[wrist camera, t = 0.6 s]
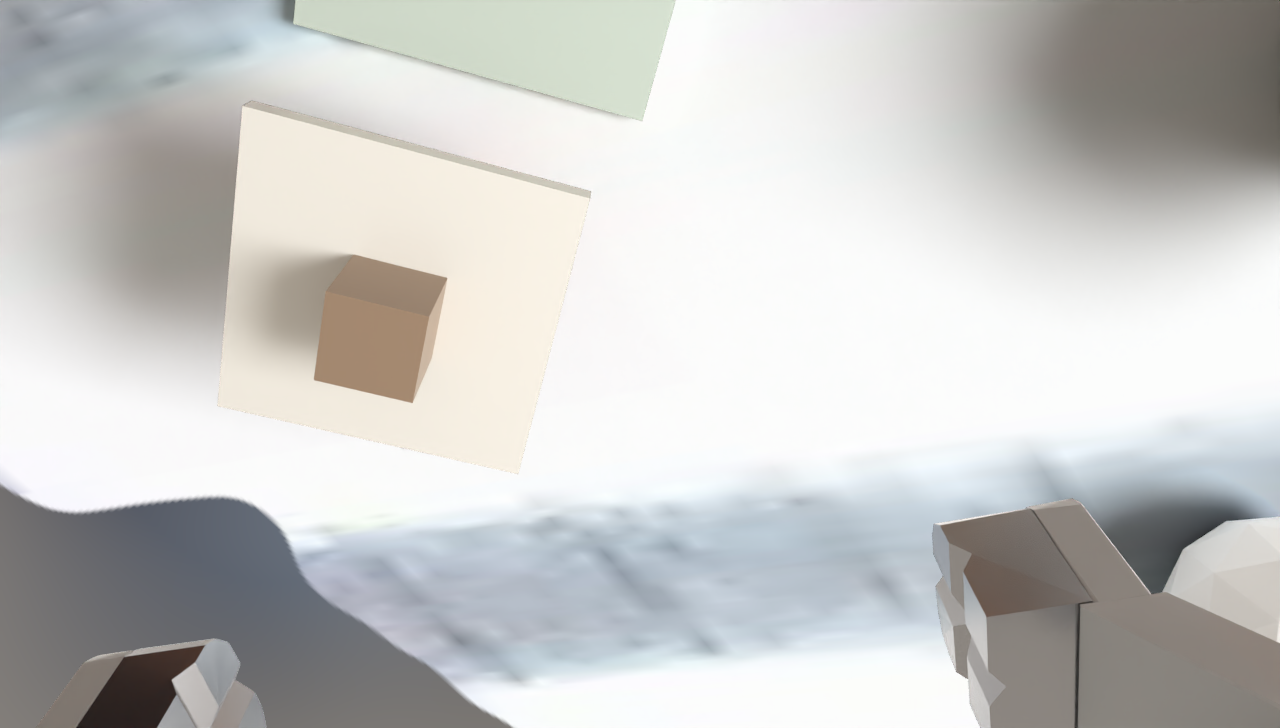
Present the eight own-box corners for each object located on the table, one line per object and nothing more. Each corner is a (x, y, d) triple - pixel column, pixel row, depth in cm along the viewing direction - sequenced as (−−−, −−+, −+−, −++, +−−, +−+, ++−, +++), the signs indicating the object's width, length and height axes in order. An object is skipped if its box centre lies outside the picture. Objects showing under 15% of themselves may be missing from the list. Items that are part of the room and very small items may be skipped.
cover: (251, 100, 37) (200, 129, 33) (591, 191, 39) (585, 230, 35) (226, 395, 44) (179, 453, 39) (520, 462, 45) (507, 525, 41)
